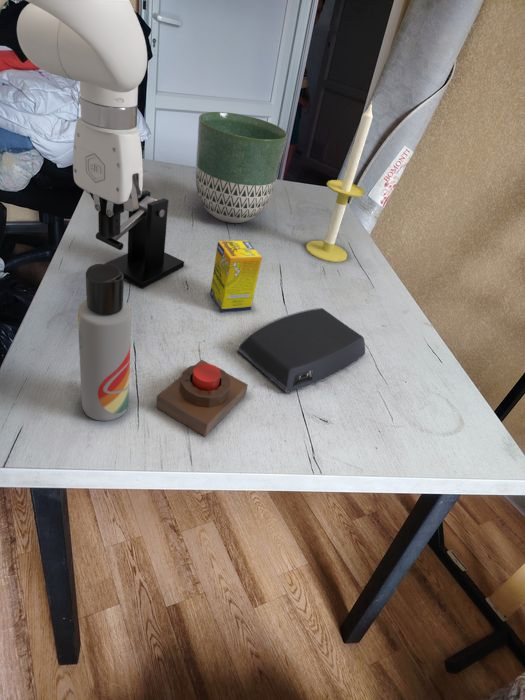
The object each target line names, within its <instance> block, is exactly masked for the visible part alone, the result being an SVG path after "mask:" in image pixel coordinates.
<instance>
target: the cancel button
mask: <svg viewBox="0 0 525 700" xmlns="http://www.w3.org/2000/svg"><path fill="white" fill-rule="evenodd" d="M217 367H218V366H216V365H214V364H211V363H209V364H200V365H197V366H196V367H195V368H194V370H193V377H192V383H193V385H194V387H196V388H198V389H199V390H203V391H212V390H215V389H216V388H217V387H218V386H219V381H220V376H221V372H220V370H219V369H218V368H219V367H218V368H217Z"/></svg>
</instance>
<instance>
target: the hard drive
mask: <svg viewBox="0 0 525 700" xmlns="http://www.w3.org/2000/svg"><path fill="white" fill-rule="evenodd" d="M236 350H237V351H238V352H239V353H240V354H241V355H243V357H245V358H246V359H247V360H248V361H250V363H251V364H253V366H255V367H256V368H257V369H258V370H259V371H261V372H262V373H263V374H264V375H265V376H266V377H267V378H269V380H271V381H272V382H273V383H275V385H276V386H277V387H279V389H281V390H282V391H283V392H285V393H291V392H293V391H296V390H299V389H302V388H304V387H307V386H310V385H312V384H314V383H318V382H319V381H322V380H323V379H326V378H327V377H329V376H332V375H333V374H336V373H337V372H340V371H341V370H343V369H345V368H346V367H348V366H349V365H351V364H353V363H354V362H356V361H357V360H359V359H361V357H363V356H364V355H365V354H366V344H365V337H364V336H363V335H361V334H360V333H358V332H357V331H355V330H354V329H353V328H351V327H349V326H348V325H347V324H345V323H344V322H342V321H341V320H339V319H338V318H337V317H335V316H334V315H333V314H331V313H329V311H328V310H326V309H324V308H323V307H316V308H315V307H314V308H311V309H305V310H301V311H297V312H294V313H293V312H292V313H290V314H287V315H284V316H282V317H278V318H277V319H274V320H272V321H269V322H268V323H266V324H263V325H261V326H260V327H259V328H257V329H255V330H253V331H252V332H251V333H249V334H248V335H247V336H245V338H244V339H243V340H242V341H241V342H240V343H239V345H238V346H237V348H236Z"/></svg>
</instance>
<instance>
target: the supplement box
mask: <svg viewBox="0 0 525 700" xmlns="http://www.w3.org/2000/svg"><path fill="white" fill-rule="evenodd" d="M216 245H217V246H216V250H215V251H216V252H215V259H214V265H213V272H212V278H211V285H210V291H209V295H210V296H211V298H212V299H213V301H214V302H215V304H216V306H217V307H218V310H219V311H220V313H233V312H241V311H243V312H244V311H251V310H252V305H253V301H254V295H255V291H256V287H257V283H258V277H259V273H260V269H261V265H262V260H263V257H262V256H261V254H259V252H258V251H257V250H256V249H255V247H254V246H253V245H252V243H251V242H250V241H249V240H248V239H247V240H246V239H245V240H219V241H217V243H216Z"/></svg>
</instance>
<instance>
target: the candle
mask: <svg viewBox="0 0 525 700" xmlns="http://www.w3.org/2000/svg"><path fill="white" fill-rule="evenodd" d="M373 119H374V115H373V101H371V103H370V104H369V105H368V107H367V109H366V110H365V112H364V113H362V115H361V118H360V122H359V125H358V127H357V132H356V135H355V139H354V142H353V146H352V148H351V152H350V155H349V159H348V162H347V165H346V169H345V172H344V174H343V175H344V176H343V178H342V180H340V179H331V180H328V181H327V182H326V187H327V188H328V189H329V190H331V191H332V192H334V193H337V195H336V199H335V202H334V205H333V209H332V213H331V216H330V220H329V223H328V226H327V230H326V233H325V237H324V240H311V241H309V242H307V244H306V245H305V249H306V251H307V252H308V253H309V254H310V255H311V256H313V257H315V258H317V259H319V260H323V261H325V262H331V263H340V262H344V261H346V260H347V259H348V254H347V251H346V250H345V249H344V248H342V247H341V246H339V245H337V244H335V243H336V240H337V237H338V233H339V231H340V227H341V225H342V224H341V223H342V220H343V218H344V214H345V211H346V208H347V204H348V201H349V200H350V199H349V198H350V197H352V198H361V197H363V196H365V193H366V191H365V190H364V189H363V188H362V187H360V186H359V185H357V184H354V183H353V182H354V179H355V176H356V173H357V169H358V167H359V163H360V160H361V157H362V154H363V150H364V147H365V144H366V141H367V138H368V135H369V131H370V127H371V125H372V121H373Z"/></svg>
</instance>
